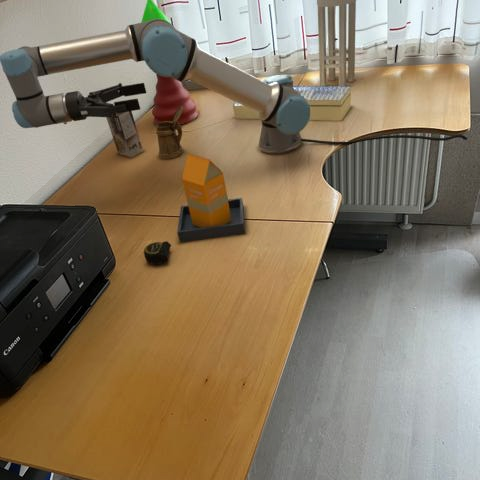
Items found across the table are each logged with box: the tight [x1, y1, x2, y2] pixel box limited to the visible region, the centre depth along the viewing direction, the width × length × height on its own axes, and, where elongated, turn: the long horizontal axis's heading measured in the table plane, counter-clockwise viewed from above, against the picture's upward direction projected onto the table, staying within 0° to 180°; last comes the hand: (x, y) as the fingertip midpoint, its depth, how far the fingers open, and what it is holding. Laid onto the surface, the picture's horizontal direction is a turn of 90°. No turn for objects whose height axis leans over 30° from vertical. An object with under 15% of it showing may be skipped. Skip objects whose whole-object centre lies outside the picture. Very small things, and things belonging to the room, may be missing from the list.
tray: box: [176, 197, 246, 243], centre depth 139 cm, size 19×15×3 cm
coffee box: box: [105, 111, 144, 158], centre depth 183 cm, size 9×6×16 cm
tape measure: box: [143, 240, 172, 265], centre depth 130 cm, size 7×7×4 cm
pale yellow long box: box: [232, 85, 352, 122], centre depth 192 cm, size 45×15×10 cm, turn 66°
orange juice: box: [181, 153, 231, 228], centre depth 133 cm, size 8×9×20 cm
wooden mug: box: [155, 105, 184, 160], centre depth 175 cm, size 9×14×18 cm, turn 68°
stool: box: [316, 0, 357, 87], centre depth 201 cm, size 16×16×35 cm
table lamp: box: [141, 0, 199, 126], centre depth 195 cm, size 20×20×45 cm
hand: (142, 95), depth 135 cm, fingers open, 13 cm apart
